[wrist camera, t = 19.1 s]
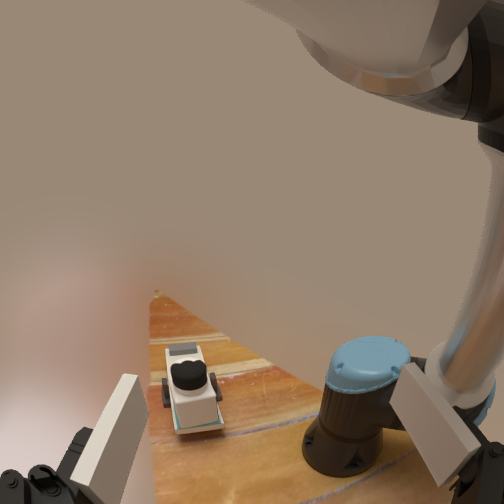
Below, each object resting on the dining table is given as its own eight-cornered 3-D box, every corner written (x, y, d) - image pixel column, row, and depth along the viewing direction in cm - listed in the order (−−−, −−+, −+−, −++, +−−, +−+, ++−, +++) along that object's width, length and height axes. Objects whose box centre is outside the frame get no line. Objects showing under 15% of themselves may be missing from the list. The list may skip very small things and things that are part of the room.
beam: (166, 353, 66) (164, 344, 66) (199, 350, 69) (198, 340, 68) (176, 434, 41) (173, 424, 40) (224, 427, 43) (223, 417, 42)
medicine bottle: (219, 421, 43) (214, 373, 40) (181, 429, 40) (169, 381, 37) (208, 397, 49) (203, 349, 46) (173, 404, 47) (163, 356, 44)
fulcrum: (162, 390, 56) (158, 373, 55) (216, 384, 60) (215, 367, 59) (164, 407, 51) (159, 390, 50) (222, 400, 55) (221, 383, 53)
